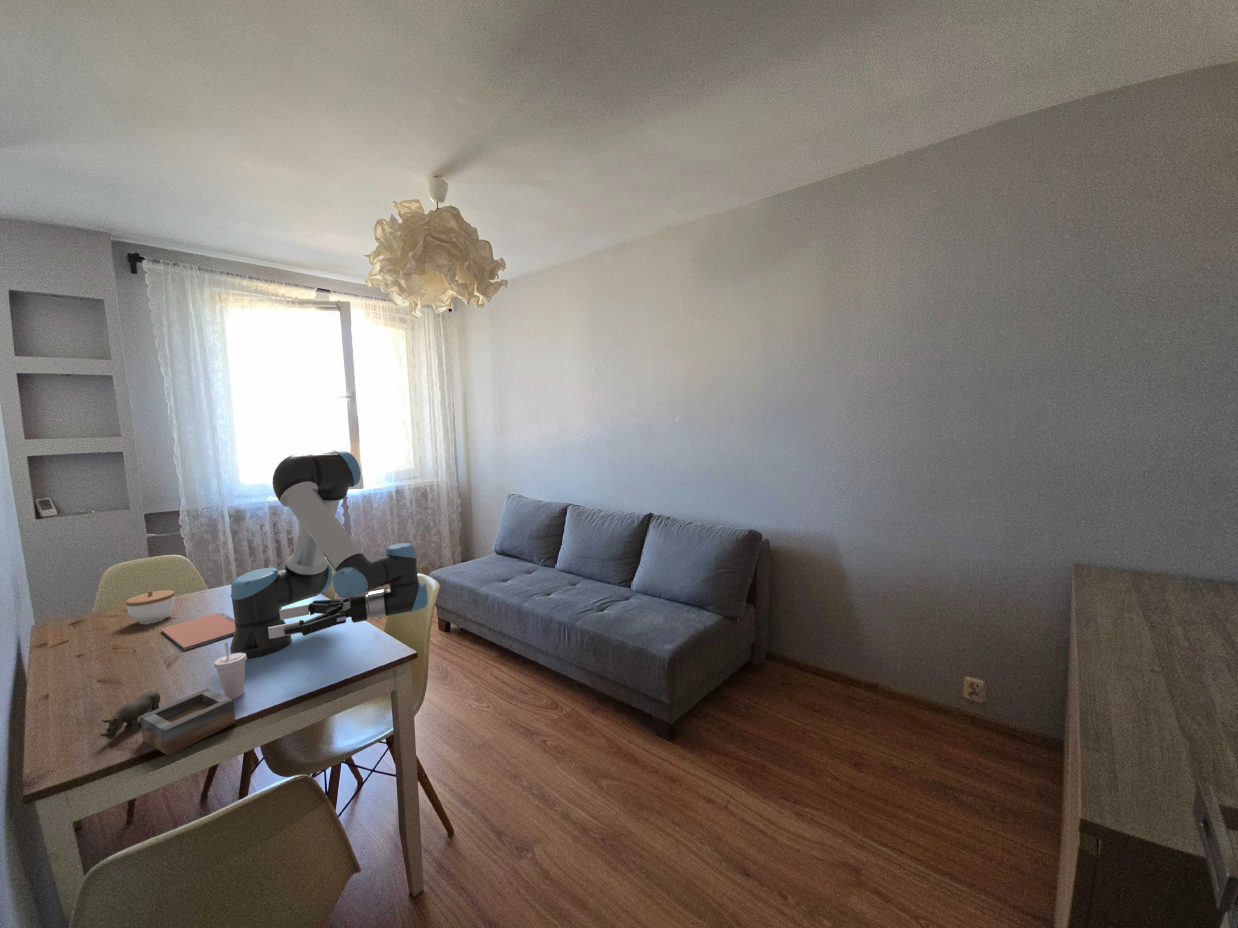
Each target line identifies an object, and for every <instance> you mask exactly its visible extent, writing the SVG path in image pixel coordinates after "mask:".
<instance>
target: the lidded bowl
mask: <svg viewBox="0 0 1238 928" xmlns="http://www.w3.org/2000/svg"><path fill="white" fill-rule="evenodd" d="M175 603H176V599H175V591H174V590H170V589H167V590H165V589H164V590H156V591H153V590H152V589H151V590H147V592H145V593H142V594H138V595H135V596H133V597H130V598H128V599H127V600H126V601H125V605H126V610H127V613H128V615H129V617H130V618H131V620H133V621H134V622H136V623H138V624H140V625H142V624H145V625H151V624H150V623H152V624H155V623H154V622H156V623H158V622H157V621H160V620H162V619H165V618H166V617H167V618H168V616H170V615H171V613H172V612H173V610H174V608H175ZM167 618H166V619H167ZM166 619H165V620H166ZM162 621H163V620H162ZM160 622H161V621H160Z"/></svg>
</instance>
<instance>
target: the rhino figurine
mask: <svg viewBox="0 0 1238 928" xmlns="http://www.w3.org/2000/svg"><path fill="white" fill-rule="evenodd" d="M160 702H161V694H160V693H159V692H157V691H154V690H149V691H146V692H145V693H143V694H140V696H139V697H137V698H136V699H134V700H133V701H132V702H129V703H125V704H123V705H122V706H120V708H118V710H117V711H116V712H115V714H113V716H112V717H110V718H108V719H101V722H103V723H104V724H105V723H106V724H107V723H108V727H107V728H105V730H106V732H105V733H100V734H99V735H100V736H101V737H103V738H106V739H109V740H111V739H113V738H115V736H116V735H117V734H118V733H119V732H120V730H121V729H122V728H123V729H125V730H126V729H130V731H135V730H138V729H140V725H139V724H138V722H139V721H138V720H139V718H140V716H142V715H144V714H147V713H149V712H152V711H154V710H156V709H159V708H160ZM124 723H125V724H126V725H125V726H124ZM123 726H124V727H123Z"/></svg>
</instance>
